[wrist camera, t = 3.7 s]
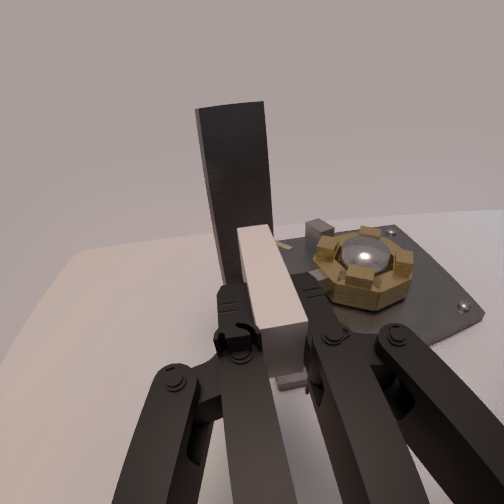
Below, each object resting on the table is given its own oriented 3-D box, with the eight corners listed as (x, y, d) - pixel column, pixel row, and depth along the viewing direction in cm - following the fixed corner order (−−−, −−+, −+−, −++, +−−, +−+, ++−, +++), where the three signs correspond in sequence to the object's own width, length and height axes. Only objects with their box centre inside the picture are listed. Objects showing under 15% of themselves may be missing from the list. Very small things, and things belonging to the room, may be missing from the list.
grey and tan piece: (369, 242, 32) (377, 103, 23) (424, 287, 24) (455, 116, 15) (219, 284, 28) (189, 110, 19) (247, 358, 20) (208, 106, 11)
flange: (388, 225, 38) (391, 198, 36) (481, 319, 20) (498, 285, 17) (245, 245, 37) (241, 214, 34) (279, 391, 18) (278, 357, 16)
